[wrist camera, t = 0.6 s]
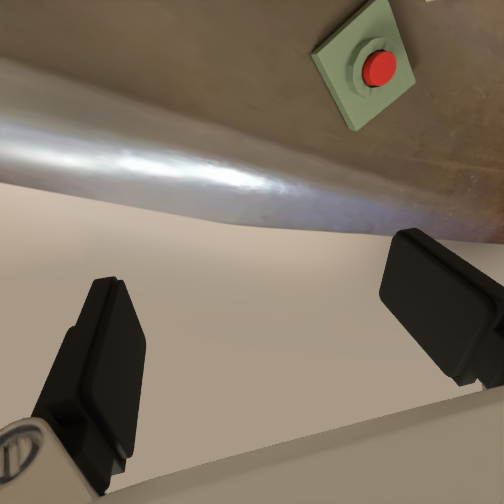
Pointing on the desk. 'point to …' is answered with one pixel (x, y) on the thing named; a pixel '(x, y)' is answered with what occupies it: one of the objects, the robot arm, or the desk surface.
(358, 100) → the block
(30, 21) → the desk surface
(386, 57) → the button
